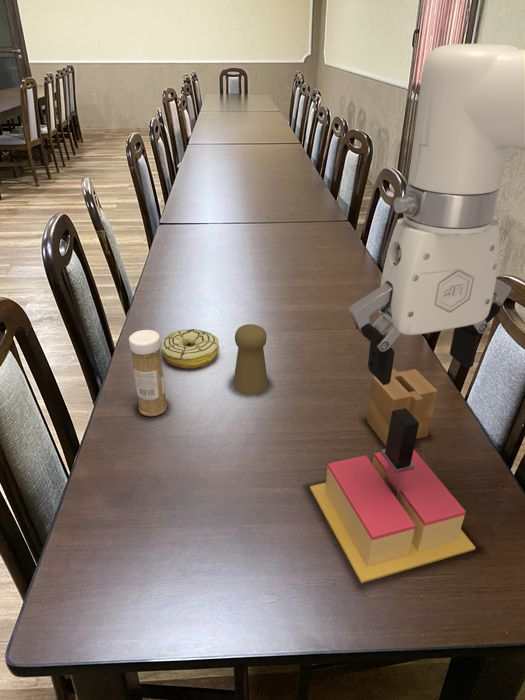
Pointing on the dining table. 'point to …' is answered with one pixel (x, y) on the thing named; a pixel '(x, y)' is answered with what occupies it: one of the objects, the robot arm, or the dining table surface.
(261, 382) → the olive brown pawn
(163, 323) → the dining table surface
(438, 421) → the dining table surface
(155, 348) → the sprinkles bottle
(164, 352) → the decorated donut
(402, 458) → the knife
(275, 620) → the dining table surface
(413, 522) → the cake
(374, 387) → the knife block
